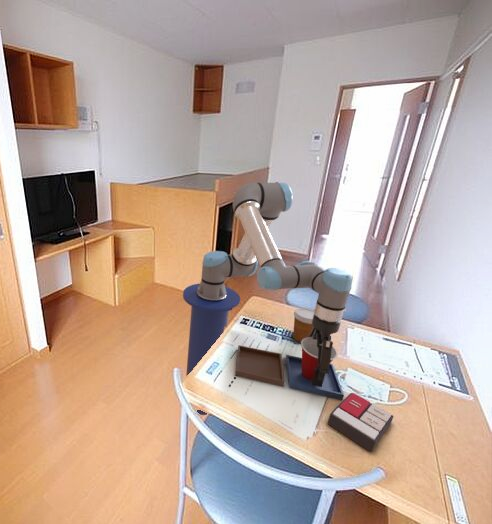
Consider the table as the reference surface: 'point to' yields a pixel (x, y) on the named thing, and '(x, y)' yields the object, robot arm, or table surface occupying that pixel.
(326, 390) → the plastic tray
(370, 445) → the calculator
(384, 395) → the table surface
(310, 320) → the disposable coffee cup
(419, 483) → the table surface
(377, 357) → the table surface
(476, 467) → the table surface
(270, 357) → the paper tray
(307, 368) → the plastic cup
